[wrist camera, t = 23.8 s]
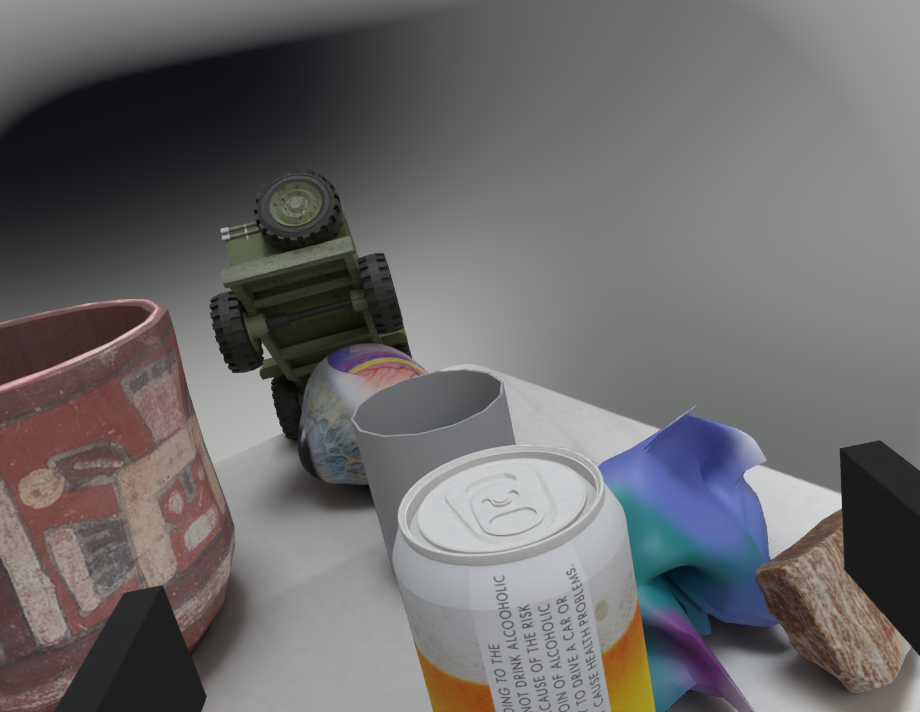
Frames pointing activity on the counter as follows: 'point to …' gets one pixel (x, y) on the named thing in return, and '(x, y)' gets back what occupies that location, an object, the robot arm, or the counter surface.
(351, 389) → the anatomical model
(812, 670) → the counter surface
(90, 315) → the pottery
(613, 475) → the figurine
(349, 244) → the toy jeep
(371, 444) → the cup
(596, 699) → the beer can
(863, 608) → the stone
